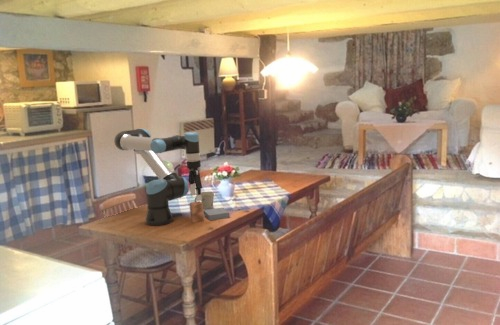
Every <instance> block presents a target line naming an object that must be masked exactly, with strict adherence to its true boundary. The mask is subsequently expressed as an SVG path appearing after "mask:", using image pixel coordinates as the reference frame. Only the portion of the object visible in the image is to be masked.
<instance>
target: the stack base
mask: <svg viewBox="0 0 500 325" xmlns="http://www.w3.org/2000/svg"><path fill="white" fill-rule="evenodd" d="M230 214H231V213H230V211H229V210H227V208H225V207H217V208H216V207H215V208H213V209H209V210H203V216H204V217H205V218H206V219H207V220H208V221H215V220H222V219H228V218H230Z"/></svg>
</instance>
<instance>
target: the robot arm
mask: <svg viewBox="0 0 500 325" xmlns="http://www.w3.org/2000/svg"><path fill="white" fill-rule="evenodd" d="M114 145H115V147H116V148H117V149H118V150H121V151H130V150H133V151H134V152H135V154H136V155H139V156H141V158H142V159H143V160H144V161H145V163H146V165H148V166H149V168H150V169H151V171H152V172H153V174H155V176H156V177H157V179H154V180H151V181H149V182H148V183H147V184H146V187H145V188H146V189H145V192H146V202H147V212H146V216H145V224H146V225H148V226H164V225H169V224H170V223H173V221H174V219H173V218H174V216H173V214H172V211H171V209H170V207H169V201H174V200H177V199H180V198H183V197H185V196H186V195H188V193H189V190H190V196H195V197H196V198H197V200H196V201H197V202H199V201H201V200H202V196H201V193H202V188H203V186H202V180H201V174H200V170H199V168H201V153H200V152H201V151H200V138H199V134H198V132H194V131H191V132H185V133H184V135H178V134H177V135H176V134H175V135H171V136H169V137H161V138H159V137H152V135H151V133H150V131H149V130H147V129H145V128H135V129H131V130H123V131H120V132H118V133H117V134H116V135H115V137H114ZM176 150H177V151H178V150H185V159H186V168H187V169H188V179H187V178H186V177H184V176H179V175H178V174H177V172H174V171H172V170H171V168H170V167H169V166H168V165H167V164H166V162H165V161H164V159H162V157H161V156H160V155H159V154H162V153H168V152H171V151H172V152H173V151H176Z"/></svg>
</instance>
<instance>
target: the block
mask: <svg viewBox="0 0 500 325" xmlns="http://www.w3.org/2000/svg"><path fill="white" fill-rule="evenodd" d="M189 212H190V213H189V214H190V220H191V222H192V223H199V222H204V221H205V220H204V219H205V218H204V217H205V216H204V210H203V204H202V202H201V200H199V201H197V202H195V201H193V202H189Z"/></svg>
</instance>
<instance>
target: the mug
mask: <svg viewBox="0 0 500 325" xmlns="http://www.w3.org/2000/svg"><path fill="white" fill-rule="evenodd" d="M214 194H215V193H214V191H201V196H202V200H200V202H201V203H202V204H203V211H204V210H209V209H214V197H215V196H214ZM193 202H198V201H197V198H196V196H195V197H194V201H193Z"/></svg>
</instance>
